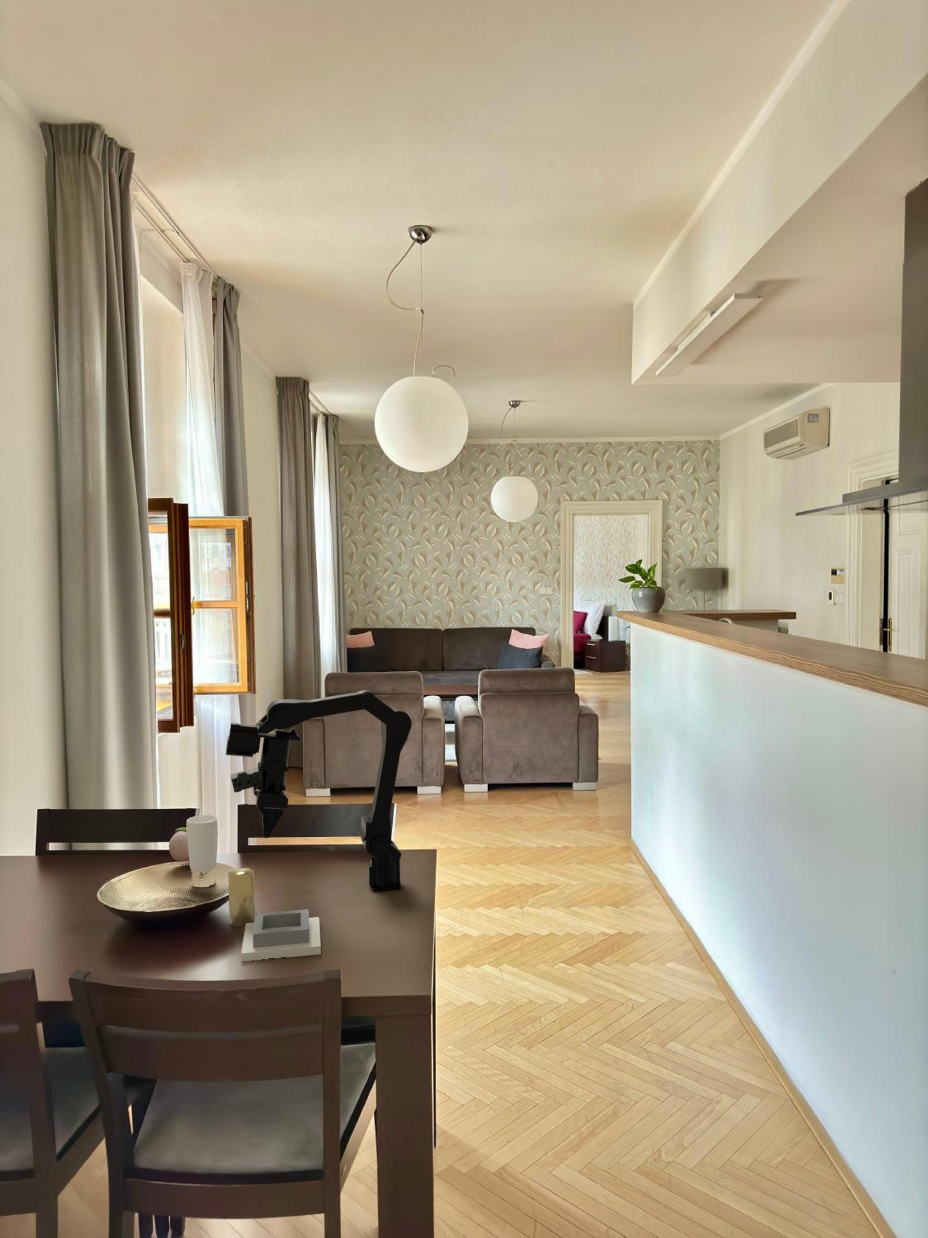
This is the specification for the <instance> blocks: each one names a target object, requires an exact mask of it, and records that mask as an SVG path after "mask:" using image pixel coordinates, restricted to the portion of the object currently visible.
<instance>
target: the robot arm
mask: <svg viewBox="0 0 928 1238" xmlns="http://www.w3.org/2000/svg"><path fill="white" fill-rule="evenodd" d="M364 710H365V711H366V712H368V713H370V714H371V715H372V716H373V717H375V718H376V719H378V720H379V721H380V738H381V752H380V759H379V765H378V769H377V770H378V772H377V777H376V782H375V787H374V793H373V798H372V805H371V810H370V811H369V813H368V815H367V816H365V815H361V819H360V820H361V821H360V822H361V823H360V828H359V830H358V831H357V833H358V835H359V837H360V839H361V843H362V845H363V846H364V849H366V851H367V852H368V854H370V855H371V856H370V863H368V865H367V872H368V873H367V875H368V876H367V878H368V879H367V880H368V881H367V882H368V886H369V887H371V891H372V892H376V891H377V892H378V891H379V892H380V891H390V890H393V891H394V890H401V889H402V888H403V887H402V883H401V859H402V855H403V854H402V852H401V851H400V849H399V848H398V846H397V845H396V843H395V842H394V841H393V840H392V823H391V809H392V805H393V800H394V799H393V798H394V792H395V785H396V781H397V776H398V770H399V769H398V768H399V763H400V758H401V752H402V751H403V748H404V747H405V744H406V742H407V741H408V737H409V736H410V732H411V729H412V726H413V725H412V724H413V721H412V718H411V717H410V715H409V714H408V713H406V711H404V710H403V709H401V708H399V707H395V706H393V707H390V706H389V705H388V704H386V703H385V702H383V701H382V700H381V699H380V698H379V697H376V695H375V694H374V692H372V691H370V690H367V689H362V690H360V691H356V692H349V693H344V694H337V695H331V696H326V697H321V698H314V699H289V698H288V699H287V698H286V699H283V698H281V699H280V698H279V699H275V700H273V701H271V703H270V704H269V705H268V706H267V709H266V713H265V715H264V716H263V717H262V718H261V719H260V720H258V722H257V723H256V724H255V725H252V724H251V725H250V724H241V723H238V722H231V723H230V727H229V733H228V736H227V739H226V740H227V741H226V748H225V755H226V756H234V757H245V758H246V757H247V758H253V757H254V755H256V754H259V753H260V748H261V747H260V746H261V740H262V738H263V741H262V749H261V755H260V760H259V761H258V763H257V767H255V768H251V769H246V770H243V771H238V772H235V773H232V774H230V780H231V784H232V785H231V786H232V787H233V792H234V793H240V792H242V791H244V790H247V789H248V790H249V789H251V788H252V790H253V791H252V792H253V795H254V796H255V797H256V800H255V806H256V809H257V810H258V811H259V812H260V813H259V814H260V815H259V816H260V826H261V827H262V835H263V838H264V839H268V838H270V836H271V834H272V833H273V831H274V829H275V828H276V826H277V825H278V822H279V821H280V819H281V817H282V816H283V815H284V813H285V812H286V810H287V809H288V805H289V797H288V795H287V794H286V793H285V792H286V780H287V779H286V778H287V772H288V771H289V765H288V763H289V756H290V749H291V748H290V747H291V743H292V742H291V741H295V742H296V741H297V742H299V741H300V740H301V737H300V735H299V734H298V733H297V732H296V730H295V726H298V725H300V724H303V723H305V722H306V721H309V720H313V719H317V718H322V717H328V716H334V715H338V714H340V715H341V714H346V713H351V712H357V711H364ZM287 729H288V730H287ZM289 729H290V730H289ZM273 731H274V733H271V732H273Z"/></svg>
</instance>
